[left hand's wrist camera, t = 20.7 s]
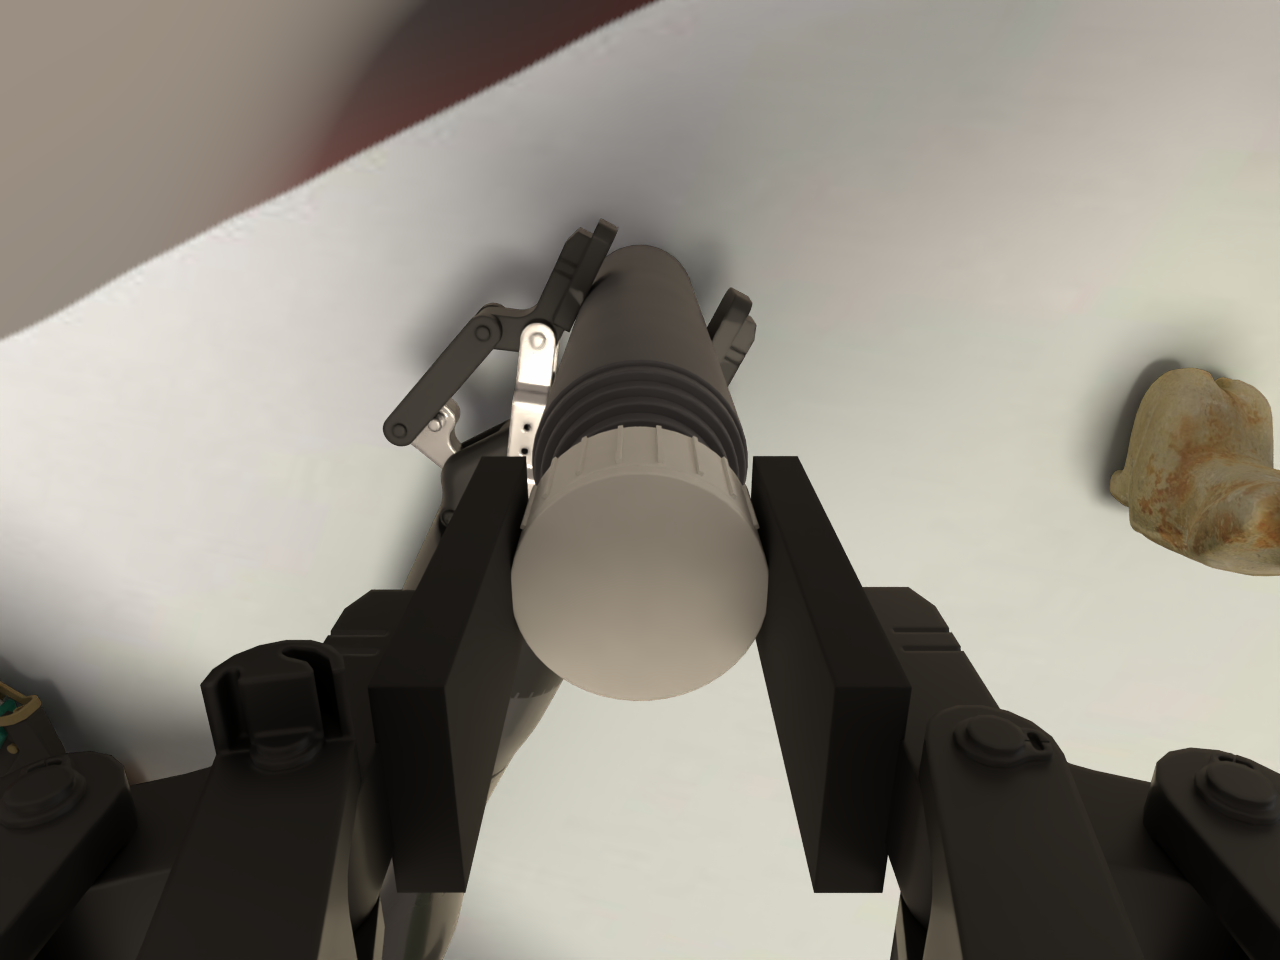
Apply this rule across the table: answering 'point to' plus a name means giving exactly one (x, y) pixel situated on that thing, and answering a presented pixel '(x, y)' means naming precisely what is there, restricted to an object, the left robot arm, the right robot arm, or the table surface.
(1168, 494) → the sculpture
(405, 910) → the right robot arm
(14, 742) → the spray gun
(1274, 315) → the table surface
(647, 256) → the bottle
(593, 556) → the cap
